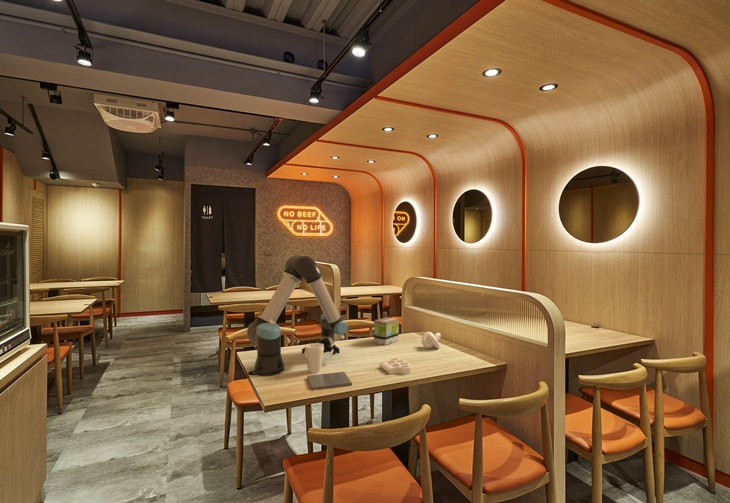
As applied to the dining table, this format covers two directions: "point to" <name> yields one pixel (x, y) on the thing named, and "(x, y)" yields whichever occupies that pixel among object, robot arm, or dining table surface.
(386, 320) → the tea box
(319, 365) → the foam cup
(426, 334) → the pretzel
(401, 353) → the dining table surface
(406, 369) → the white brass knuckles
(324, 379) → the tile
